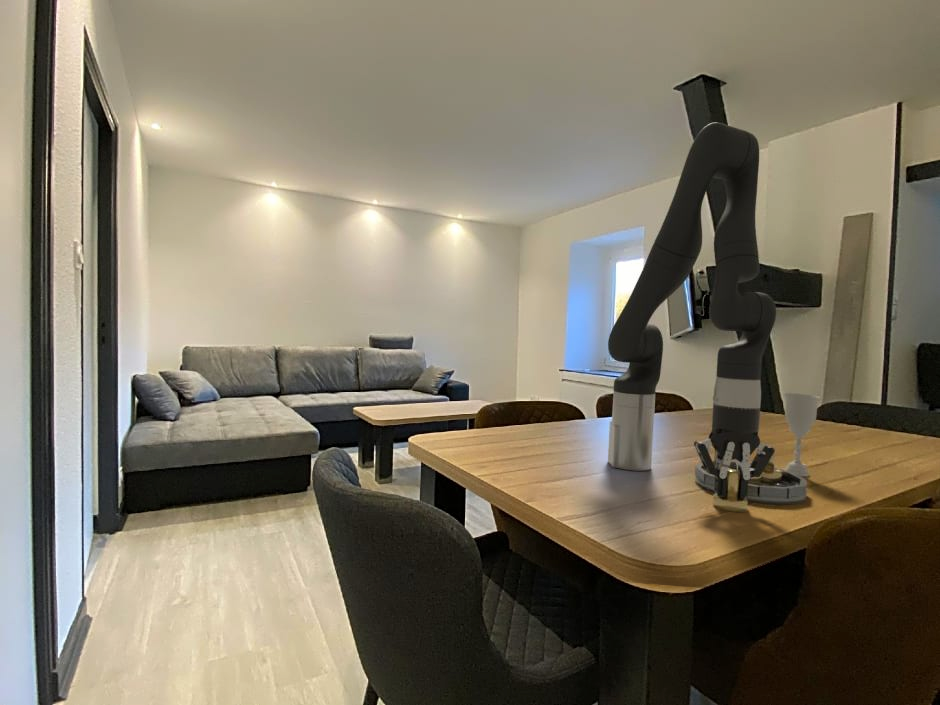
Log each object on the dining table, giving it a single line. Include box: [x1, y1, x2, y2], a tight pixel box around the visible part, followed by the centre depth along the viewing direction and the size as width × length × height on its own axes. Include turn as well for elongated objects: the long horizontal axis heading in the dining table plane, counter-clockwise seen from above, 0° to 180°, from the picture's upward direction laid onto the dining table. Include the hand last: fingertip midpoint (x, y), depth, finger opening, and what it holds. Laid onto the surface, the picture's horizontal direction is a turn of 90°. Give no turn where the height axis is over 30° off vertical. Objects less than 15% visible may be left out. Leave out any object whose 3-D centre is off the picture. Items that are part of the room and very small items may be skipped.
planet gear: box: [712, 469, 749, 513], centre depth 92 cm, size 6×6×7 cm
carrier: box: [694, 447, 808, 505], centre depth 104 cm, size 20×20×8 cm
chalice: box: [783, 393, 821, 477], centre depth 116 cm, size 7×7×18 cm
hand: (730, 497), depth 92 cm, fingers closed on planet gear, 2 cm apart
